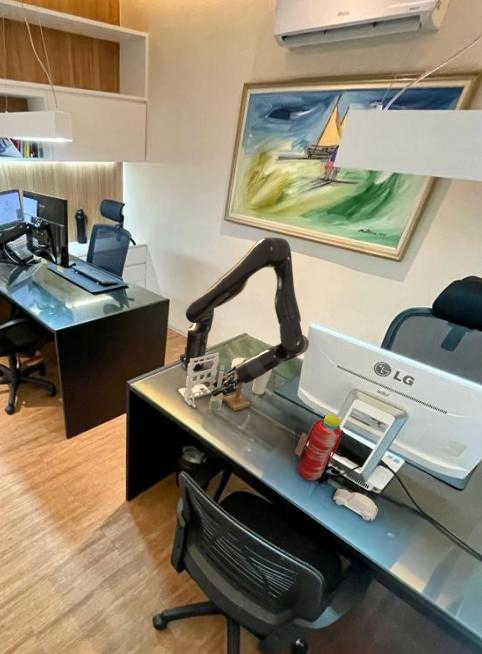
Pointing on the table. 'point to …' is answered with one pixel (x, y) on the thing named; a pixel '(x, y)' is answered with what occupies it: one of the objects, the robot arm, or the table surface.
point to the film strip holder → (196, 390)
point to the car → (357, 503)
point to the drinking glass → (261, 383)
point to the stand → (236, 399)
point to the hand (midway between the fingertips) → (213, 389)
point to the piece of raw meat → (318, 447)
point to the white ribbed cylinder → (237, 361)
